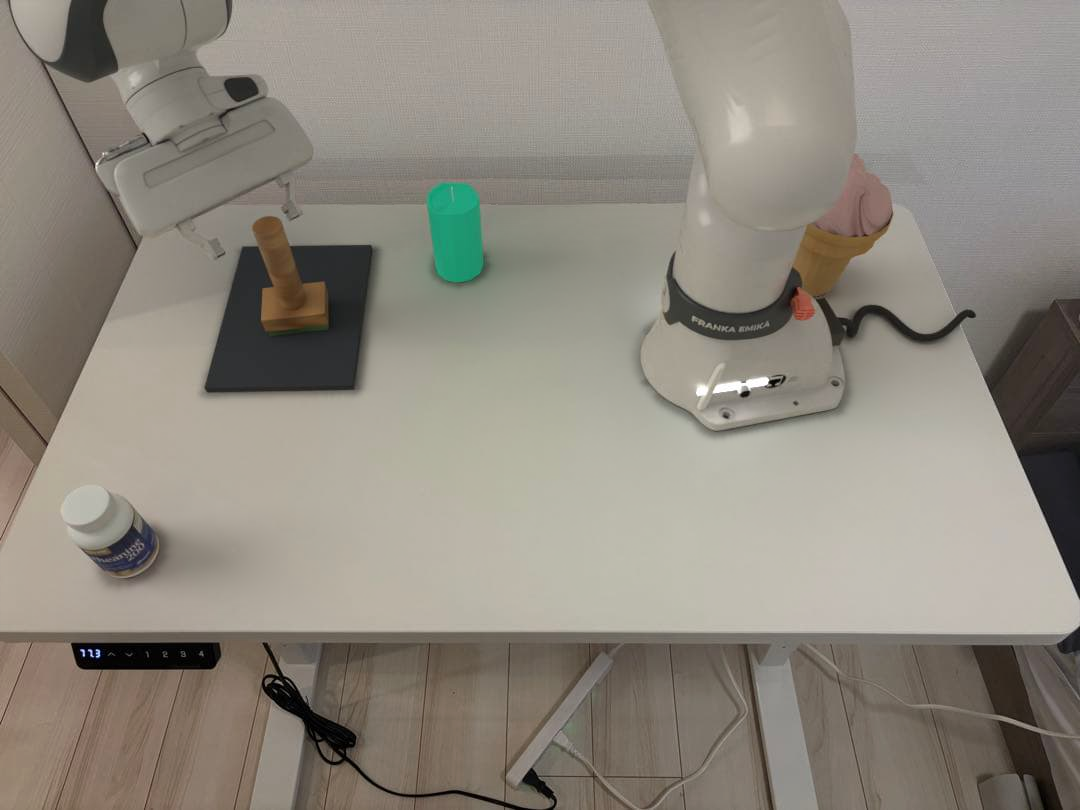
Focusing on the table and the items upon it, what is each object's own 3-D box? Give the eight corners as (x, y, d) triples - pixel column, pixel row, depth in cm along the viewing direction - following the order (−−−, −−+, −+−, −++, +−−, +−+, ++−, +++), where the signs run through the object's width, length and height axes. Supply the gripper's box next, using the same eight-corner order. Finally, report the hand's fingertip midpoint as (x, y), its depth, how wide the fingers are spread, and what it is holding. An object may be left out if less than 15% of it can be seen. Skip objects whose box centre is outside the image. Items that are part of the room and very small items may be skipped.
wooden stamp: (329, 299, 94) (302, 206, 82) (330, 330, 91) (302, 239, 79) (269, 305, 93) (233, 213, 81) (268, 338, 90) (230, 246, 79)
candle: (482, 282, 96) (477, 205, 87) (432, 282, 96) (422, 204, 87) (484, 248, 100) (480, 170, 90) (437, 247, 100) (427, 169, 90)
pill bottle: (107, 589, 73) (56, 543, 65) (97, 542, 76) (46, 492, 68) (166, 564, 75) (123, 516, 67) (154, 519, 78) (112, 467, 70)
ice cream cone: (775, 317, 94) (827, 180, 77) (757, 252, 100) (802, 113, 84) (866, 315, 94) (937, 178, 78) (842, 251, 100) (903, 112, 84)
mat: (372, 249, 100) (371, 244, 99) (353, 389, 87) (352, 385, 86) (244, 251, 99) (242, 246, 99) (206, 392, 87) (204, 387, 86)
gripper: (84, 149, 75) (171, 279, 78) (275, 69, 83) (345, 190, 87) (86, 165, 80) (166, 286, 84) (264, 89, 88) (330, 202, 92)
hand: (258, 237), depth 85 cm, fingers open, 8 cm apart
